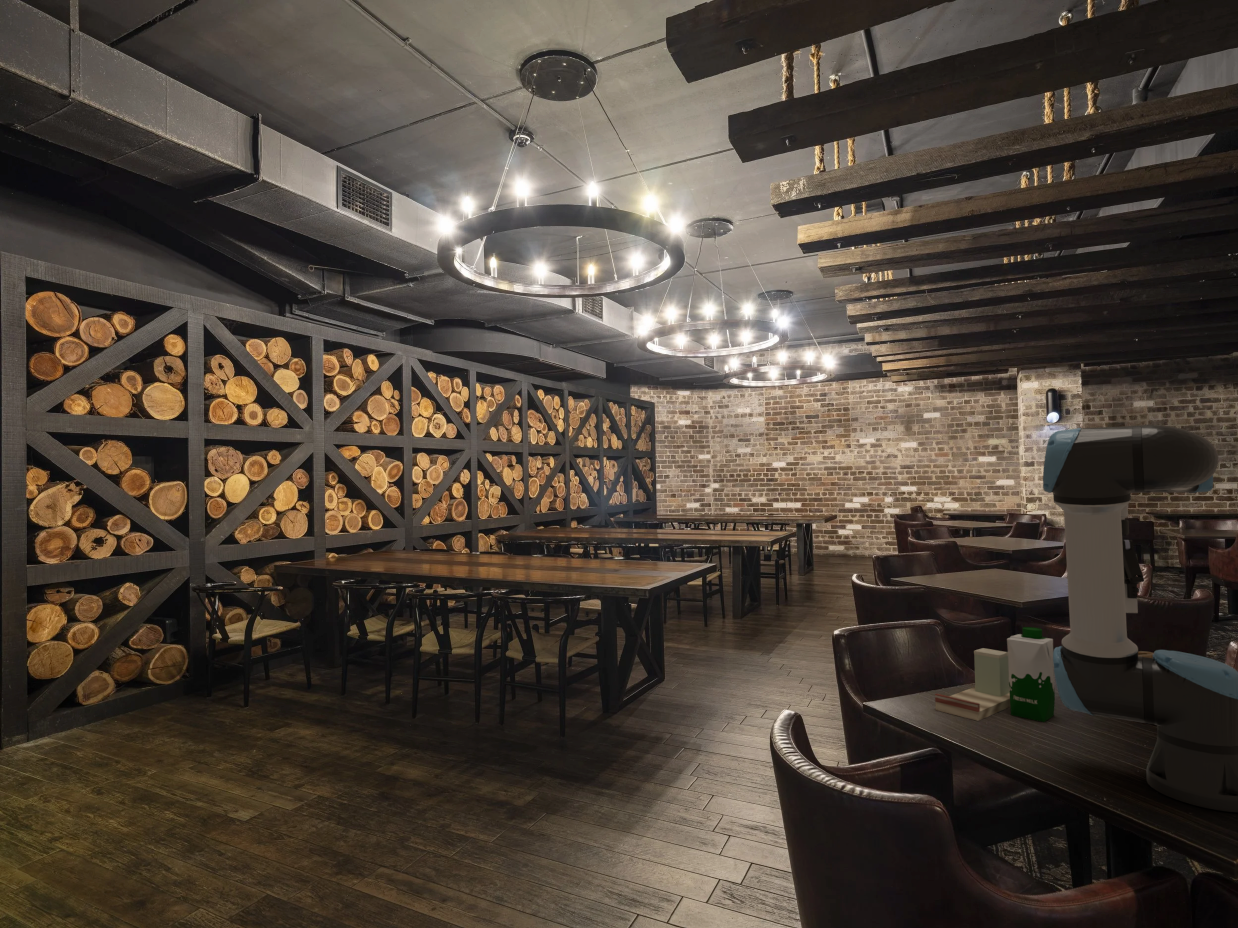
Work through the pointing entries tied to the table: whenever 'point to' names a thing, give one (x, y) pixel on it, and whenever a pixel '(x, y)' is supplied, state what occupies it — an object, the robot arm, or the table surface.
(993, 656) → the tea tin
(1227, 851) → the table surface
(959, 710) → the shelf board
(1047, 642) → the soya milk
